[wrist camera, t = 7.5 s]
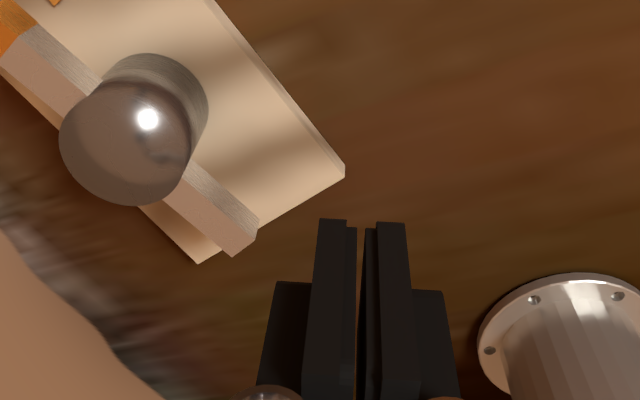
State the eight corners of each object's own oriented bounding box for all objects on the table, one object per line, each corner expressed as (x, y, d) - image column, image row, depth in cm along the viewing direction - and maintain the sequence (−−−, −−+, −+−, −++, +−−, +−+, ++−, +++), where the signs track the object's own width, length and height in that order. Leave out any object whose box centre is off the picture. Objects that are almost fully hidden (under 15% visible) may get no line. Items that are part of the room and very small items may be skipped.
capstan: (292, 168, 35) (282, 224, 30) (223, 222, 37) (204, 282, 33) (64, -50, 29) (5, -23, 24) (0, 31, 31) (-65, 70, 26)
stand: (344, 164, 37) (344, 179, 35) (202, 250, 41) (196, 267, 39) (107, -135, 28) (93, -132, 27) (-41, 12, 33) (-60, 21, 31)
